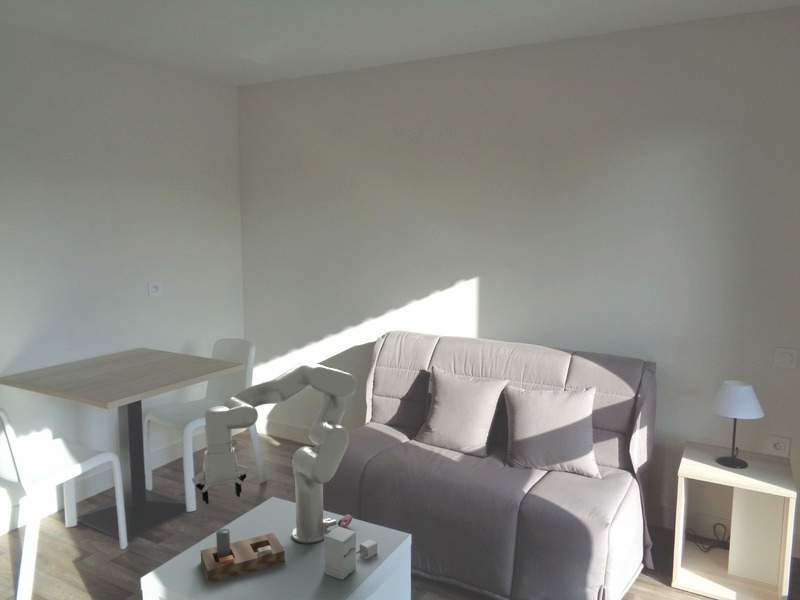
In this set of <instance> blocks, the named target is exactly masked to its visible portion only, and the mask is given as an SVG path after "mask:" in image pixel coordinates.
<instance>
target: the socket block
mask: <svg viewBox="0 0 800 600" xmlns="http://www.w3.org/2000/svg"><path fill="white" fill-rule="evenodd" d="M285 551H286V550H285V549H284V548H283V546H282V544H281V542H280V540H279V539H278V537H277V536H276V533H274V532H271V533H267V534H263V535H259V536H255V537H254V536H253V537H249V538H247V539H243V540H238V541H235V542H230V556H226V557H222V558H219V562H217V546H214V547H210V548H206V549H202V550H200V563H201V566H202V569H203V571H204V575H205V578H206V582H207V584H210V583H215V582H219V581H223V580H226V579H230V578H232V577H238V576H242V575H245V574H247V573H251V572H252V573H253V572H255V571H258V570H263V569H266V568H270V567H273V566H277V565H281V564H285V563H286V552H285Z"/></svg>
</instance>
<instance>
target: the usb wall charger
mask: <svg viewBox="0 0 800 600" xmlns="http://www.w3.org/2000/svg"><path fill="white" fill-rule="evenodd" d="M376 553H377V554H378V543H377V542H376V541H375V540H373V539H370V538H369V539H368V540H366V541H364V542H362V543H360V544H359V550H358V551H357V550H356V555H358V554H359V557H360V558H361V557H363V556H364V557H363V558H365V557H367V558H368V559H370V558H371V557H373V556H374V555H375V556H376ZM369 557H370V558H369Z"/></svg>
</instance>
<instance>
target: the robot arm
mask: <svg viewBox="0 0 800 600" xmlns="http://www.w3.org/2000/svg"><path fill="white" fill-rule="evenodd" d="M357 388H358V381H357V379H356V377H355V376H354V375H352V374H351V373H349V372H345V371H343V370H340V369H337V368H334V367H327V366H325V365H322V364H319V363H316V362H313V361H308V360H307V361H303V362H300V363H299V364H297V365H295V366H293V367H292V368H290V369H289V370H286V371H285V372H283V373H281V374H280V375H278V376H277V377H275V378H273V379H271V380H269V381H265V382H261V383H258V384H255V385H252V386H248V387H247V388H244V389H242V390H241V391H239V392H237V393H236V394H234V395H232V396H231V397H229V398H228V399H227V400H226V401H224V403H223V405H218V406H212V407H209V408H207V410H206V411H205V414H204V418H205V419H204V420H205V421H204V422H205V434H206V435H205V438H206V450H205V451H204V452H203V463H202V465H203V467H202V471H200V472H199V473H198V474H196V475H195V476H193V477H192V478H191V481H192V483H193V484H194V485H195V487H196V488H197V489H198V490H199V491H201V495H202V496H201V497H202V502H204V503H205V505H209V492H208V489H209V487H210V486H213V485H219V484H223V483H228V482H232V481H235V482H234V484H235V486H234V489H235V495H236V496H237V498H240V497H241V493H242V484H243V482H244V481H245V479H246V478H247V475H248V474H249V471H250V468H249V467H248V466H246V465H241V464H238V461H237V455H236V451H235V447H234V445H237V443H238V441H237V439H233V437H232V435H233V434H232V430H237V429H240V430H242V429H248V428H251V427H253V426H254V425H255V423H257V421H258V417H259V414H258V410H257V407H259V406H263V405H271V404H273V405H275V404H283V403H286V402H287V401H289V400H291V399H292V398H294V397H295V396H297V395H299V394H301V393H302V392H304V391H305V390H307V389H311V390H314V391H317V392H320V393H322V403H321V405H320V409H318V410H319V411H318V413H317V415H316V417H315V418H314V421H313V423H312V425H311V427H310V430H309V433H308V437H309V439H310V441H311V442H312V443H313V444H314V445H316V446H318V447H319V450H318V449H316V448H314V447H312V446H308V445H307V446H301V447H300V448H298V449H297V450H295V452H294V453H293V456H292V459H291V460H292V461H291V462H292V463H291V464H292V471H293V476H294V485H295V487H294V488H295V526H296V527H295V528H293V530H292V532H291V537H292V539H293V540H294V541H295V542H296V543H297V542H298V543H301V544H314V543H318V542H321V541H322V540H323V541H324V536H325V535H326V534H328V533H329V529H328V528H329V527H335V526H337V525H338V522H337V520H336V519H333V520H332V519H331V518H330V517H329V518H325V519H324V494H323V493H324V484H327V482H328V483H329V481H330V480H331V479H333V477H334V475H335V474H336V472H337V470H338V468H339V466H340V464H341V461H342V459H343V456H344V455H345V453H346V450H347V448H348V445H349V441H350V440H349V439H350V438H349V432H348V431H347V429H346V428H345V427H344V426H342V425H341V421H342V420H343V416H344V414H345V413H346V408H347V401H346V398H350V397H351V396H353V395H354V394H355V392H356V390H357ZM239 471H242V473H241V474H240V476H239ZM202 478H203V480H204V481H203V483H200V482H199V481H200V480H201V479H202Z"/></svg>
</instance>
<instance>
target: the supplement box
mask: <svg viewBox="0 0 800 600" xmlns="http://www.w3.org/2000/svg"><path fill="white" fill-rule="evenodd" d="M356 539H357V531H354V530H352V529H349V530H348V529H345V528H342V527H339V525H338V526H336V527H335V528H333V529H332V530H330V531H328V534H326V535H325V536H324V539H323V547H324V549H323V550H324V553H323V556H324V557H323V558H324V559H323V560H324V564H323V565H324V574H325V575H328V576H330V575H331V577H333V576H334V577H333V578H335V577H336V579H338V578H339V579H338V580H340V579H343V580H344V579H345V578H347V576H349V575H350V574H351V573H353V572H354V571H355V570H356V569H357V553H356V552H357V540H356ZM354 569H355V570H354ZM353 570H354V571H353ZM349 573H350V574H349ZM348 574H349V575H348Z"/></svg>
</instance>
